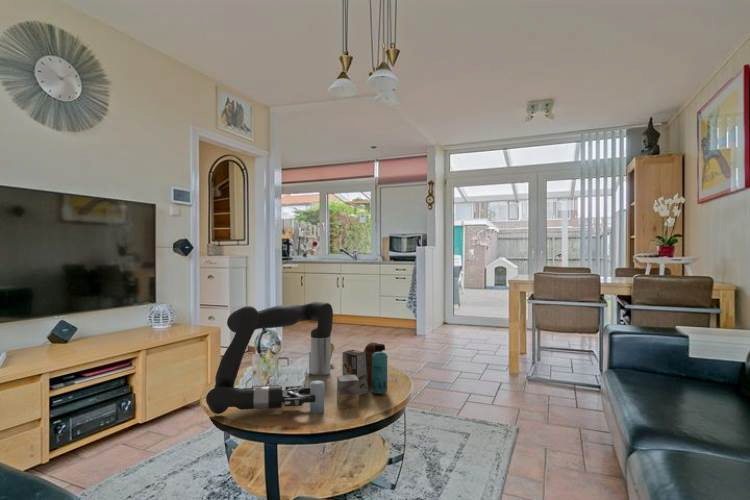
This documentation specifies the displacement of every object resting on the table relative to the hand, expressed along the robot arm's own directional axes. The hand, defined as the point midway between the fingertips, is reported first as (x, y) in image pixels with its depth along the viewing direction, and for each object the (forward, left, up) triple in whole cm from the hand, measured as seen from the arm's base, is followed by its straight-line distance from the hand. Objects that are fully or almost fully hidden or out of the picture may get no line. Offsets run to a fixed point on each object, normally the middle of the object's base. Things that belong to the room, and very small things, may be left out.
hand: (314, 394), depth 148 cm
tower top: (+6, +12, -1) cm, 13 cm away
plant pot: (-39, +51, -6) cm, 64 cm away
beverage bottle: (+10, +28, -6) cm, 30 cm away
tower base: (+6, +12, -6) cm, 14 cm away
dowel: (+1, +1, -6) cm, 6 cm away
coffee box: (0, +25, -6) cm, 25 cm away
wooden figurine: (+1, +37, -6) cm, 37 cm away
